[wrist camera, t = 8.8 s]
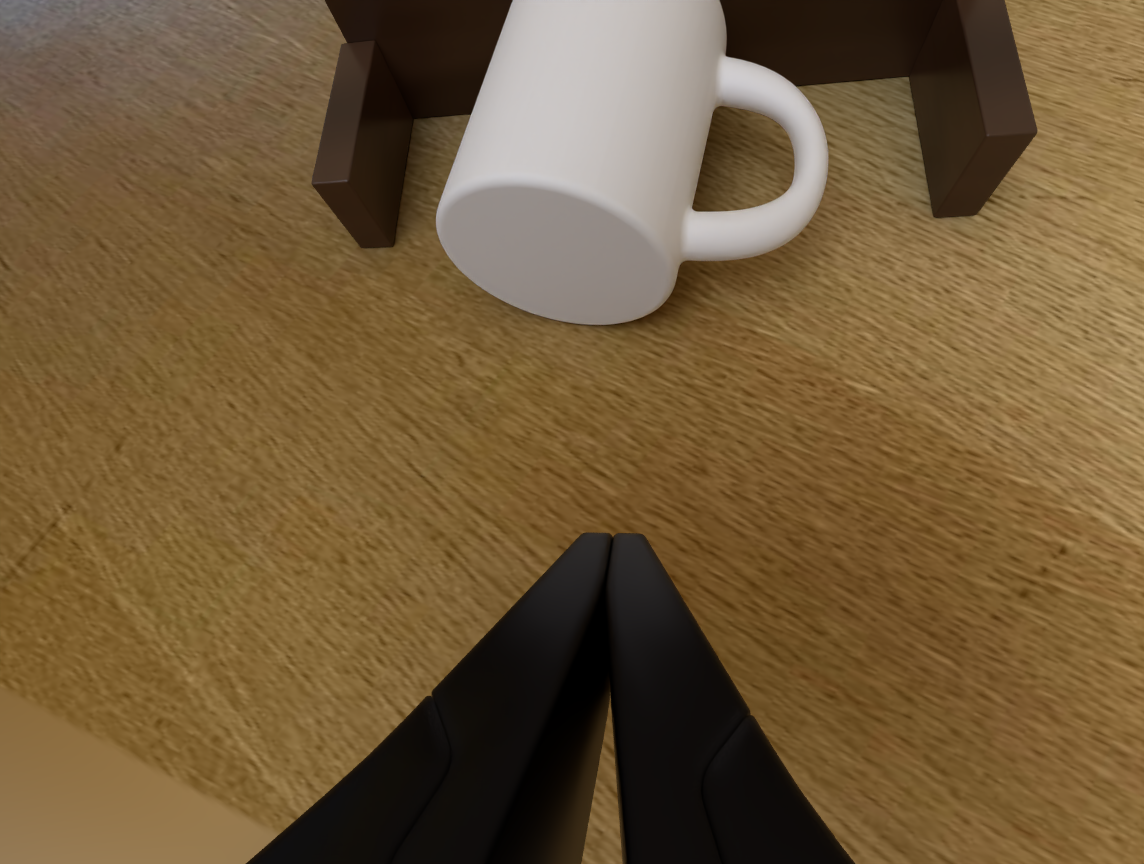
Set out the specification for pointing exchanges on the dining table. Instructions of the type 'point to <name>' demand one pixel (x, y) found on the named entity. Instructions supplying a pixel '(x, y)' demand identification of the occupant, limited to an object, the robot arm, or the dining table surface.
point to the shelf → (754, 33)
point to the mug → (612, 158)
